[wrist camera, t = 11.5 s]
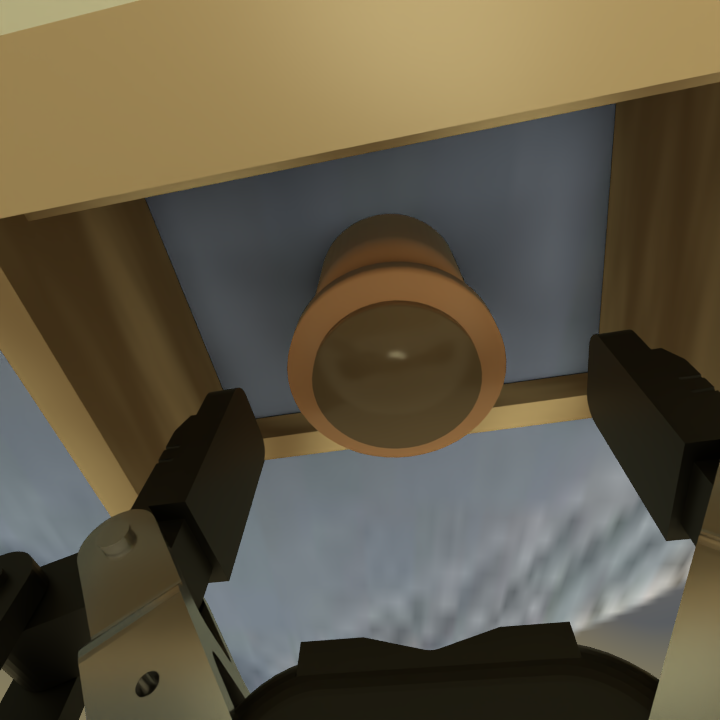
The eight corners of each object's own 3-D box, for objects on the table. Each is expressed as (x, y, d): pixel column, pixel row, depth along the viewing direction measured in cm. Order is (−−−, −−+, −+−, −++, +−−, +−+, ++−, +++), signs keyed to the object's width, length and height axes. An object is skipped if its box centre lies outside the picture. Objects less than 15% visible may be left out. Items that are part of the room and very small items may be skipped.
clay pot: (331, 357, 20) (314, 477, 14) (296, 221, 17) (256, 302, 11) (470, 336, 20) (513, 453, 14) (457, 191, 17) (506, 259, 11)
